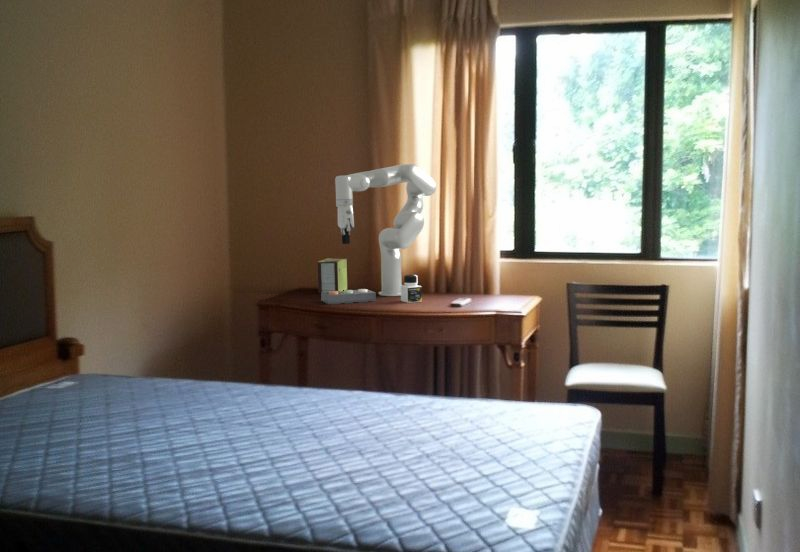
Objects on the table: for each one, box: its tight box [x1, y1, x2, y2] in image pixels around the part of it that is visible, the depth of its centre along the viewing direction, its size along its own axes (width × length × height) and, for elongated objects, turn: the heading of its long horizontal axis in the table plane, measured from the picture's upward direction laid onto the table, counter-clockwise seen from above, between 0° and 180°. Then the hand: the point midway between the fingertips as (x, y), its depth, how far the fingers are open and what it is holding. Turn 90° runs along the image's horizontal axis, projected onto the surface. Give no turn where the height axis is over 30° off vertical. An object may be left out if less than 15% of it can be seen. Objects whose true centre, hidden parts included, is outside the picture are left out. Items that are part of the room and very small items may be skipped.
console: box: [320, 289, 377, 305], centre depth 393 cm, size 22×12×4 cm, turn 112°
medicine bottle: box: [400, 274, 423, 304], centre depth 389 cm, size 7×7×12 cm
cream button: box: [357, 288, 369, 292], centre depth 395 cm, size 4×4×3 cm
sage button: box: [343, 289, 353, 293], centre depth 393 cm, size 4×4×3 cm
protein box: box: [317, 258, 348, 294], centre depth 427 cm, size 10×15×16 cm
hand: (345, 243), depth 393 cm, fingers closed
